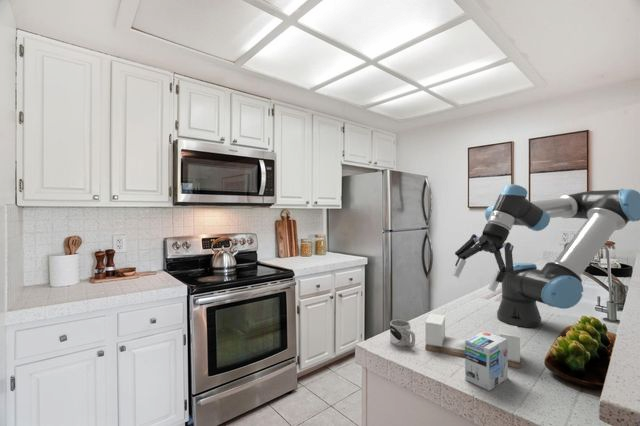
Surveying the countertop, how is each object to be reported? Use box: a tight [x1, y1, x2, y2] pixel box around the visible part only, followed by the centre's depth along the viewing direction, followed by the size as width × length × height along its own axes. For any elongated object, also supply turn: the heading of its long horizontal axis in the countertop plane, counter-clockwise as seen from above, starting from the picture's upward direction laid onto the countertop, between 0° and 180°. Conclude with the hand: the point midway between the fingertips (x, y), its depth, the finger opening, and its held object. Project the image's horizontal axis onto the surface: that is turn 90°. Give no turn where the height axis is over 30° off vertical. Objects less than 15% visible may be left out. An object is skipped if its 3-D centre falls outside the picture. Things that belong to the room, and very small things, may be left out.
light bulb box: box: [464, 331, 509, 392], centre depth 84 cm, size 11×7×11 cm, turn 126°
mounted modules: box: [425, 313, 521, 362], centre depth 99 cm, size 26×9×7 cm, turn 62°
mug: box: [389, 319, 416, 348], centre depth 105 cm, size 10×7×7 cm
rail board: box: [425, 336, 521, 369], centre depth 99 cm, size 26×10×2 cm, turn 62°
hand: (472, 283), depth 105 cm, fingers open, 13 cm apart
